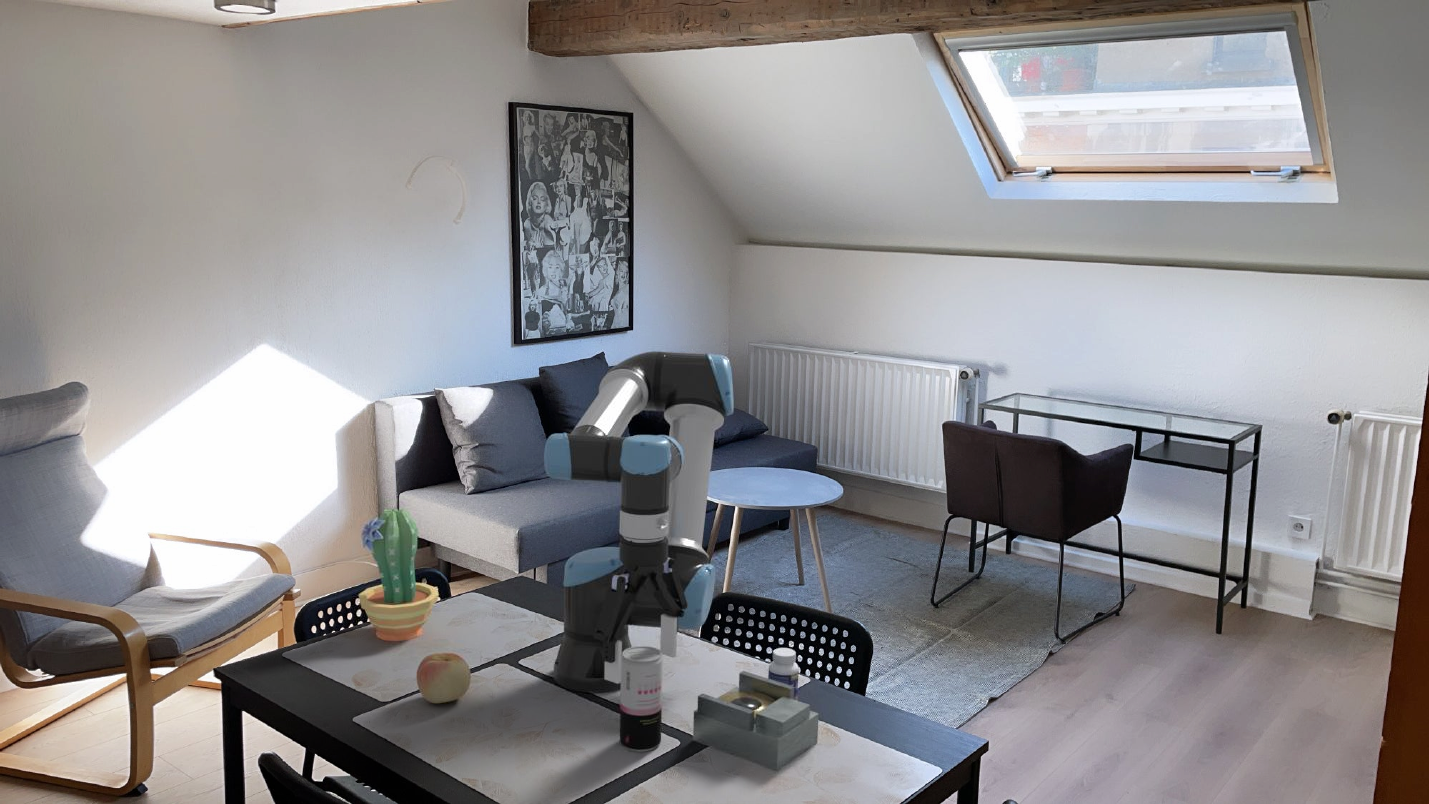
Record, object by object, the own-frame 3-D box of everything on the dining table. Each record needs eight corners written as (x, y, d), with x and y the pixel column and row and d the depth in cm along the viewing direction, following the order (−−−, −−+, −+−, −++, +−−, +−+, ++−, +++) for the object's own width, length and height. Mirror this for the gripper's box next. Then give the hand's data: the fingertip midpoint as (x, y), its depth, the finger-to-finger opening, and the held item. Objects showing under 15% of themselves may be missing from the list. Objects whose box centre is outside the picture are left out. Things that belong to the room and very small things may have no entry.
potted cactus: (367, 619, 226) (364, 500, 222) (444, 618, 227) (443, 500, 223) (351, 648, 210) (347, 521, 206) (433, 646, 212) (432, 521, 208)
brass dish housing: (691, 741, 177) (692, 694, 175) (737, 714, 187) (738, 669, 186) (775, 772, 167) (777, 722, 166) (818, 741, 178) (820, 694, 176)
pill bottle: (795, 708, 190) (797, 659, 188) (765, 704, 191) (767, 656, 189) (799, 695, 195) (801, 648, 193) (769, 692, 196) (771, 644, 194)
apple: (408, 700, 189) (407, 655, 187) (452, 685, 195) (451, 642, 194) (436, 716, 183) (436, 670, 182) (481, 700, 189) (481, 656, 188)
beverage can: (614, 737, 177) (615, 648, 175) (652, 731, 180) (654, 643, 177) (627, 755, 171) (629, 664, 169) (666, 748, 174) (668, 658, 171)
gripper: (608, 558, 158) (606, 699, 161) (711, 525, 178) (707, 650, 181) (570, 548, 162) (568, 685, 165) (674, 517, 182) (671, 639, 185)
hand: (641, 667), depth 173 cm, fingers open, 13 cm apart
